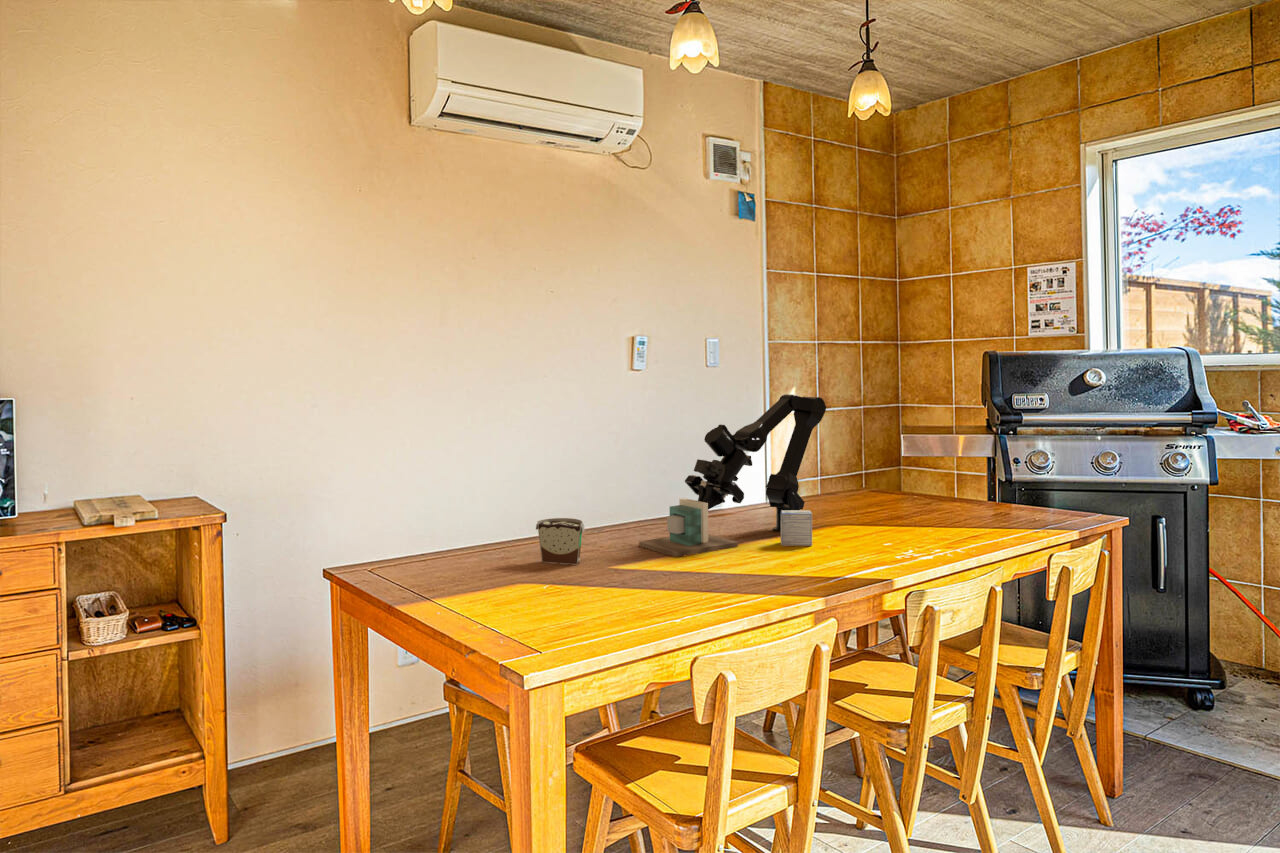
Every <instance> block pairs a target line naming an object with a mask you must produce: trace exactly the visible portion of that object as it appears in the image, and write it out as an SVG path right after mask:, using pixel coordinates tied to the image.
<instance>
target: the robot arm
mask: <svg viewBox="0 0 1280 853" xmlns="http://www.w3.org/2000/svg"><path fill="white" fill-rule="evenodd" d="M826 410H827V405H826V403H825V400H824V399H823V398H822V397H819V396H800V395H797V394H789V393H788V394H787V393H786V394H783V395H781V396H780V397H779V399H778V400H777V401H776V402H775V403H774V404H772V406H771V407H769V409H767V411H765V412H764V413H763V414H762V415H761V416H760V417H759V418H758V419H757V420H756V421H754V422H752V423H749V424H747V425H744V426H743V427H741V428H739V429H738V430H737V431H736V432H735V433H734V434H732V432H730V431H729V429H728V428H727V426H726V425H725V424H718V425H717V427H714V428H712V429H711V430H710V431H708V432H707V433H706V434H705V436H704V442H705V443H706V445H708V447H709V448H710V449H711V450H712V452H714V454H715V456H717V457H722V458H721V460H717V459H713V460H712V461H709V460H707V459H697V460H696V462H695V466H694V469H693V472H696V473H699V474H701V475H703V476H702V477H701V476H699V475H693V474H691V475H688V476H687V477H686V478H685V479H684V483H685V484H686V485H687V487H688V488H690V490H692V492H694V494H695V495H696V496H698V498H697V501H700V502H705V503H708V511H709V510H710V509H713V508H714V507H716V506H718V505H720V504H723V503H726V499H725V498H726V497H728V496H729V495H730V496H732V498H731V499H732V502H733V503H734V504H735V503H736V504H741V503H742V502H743V500H744V498H745V492H744V491H743V490H742V489H741V488H740V487H739V485H738V484H737V481H738V480H739V477H738V476H737V475H738V474H739V473H740V472H741V470H742V468H743V467H744V466H748V467H753V460H752V456H751V455H747V453H745V452H752V453H757V452H759V451H760V450H761V449H762V447H763V446H764V445H765V443H766V442H767V440H768V435H769V434H770V433H771V432H772V430H774V429H775V428H776V427H777V426H778V425H779V424H780V423H781V422H782V421H784V419H786V418H787V416H789V415H790V414H791V413H792V412H793V418H794V422H795V424H794V428H793V431H792V433H791V437H790V439H789V443H788V446H787V447H786V448H787V449H786V451H785V455H784V457H783V460H782V463H781V466H780V469H779V471H778V472H777V473H771V474H770V475H769V476H768V477H769V478H768V482H767V484H766V485H765V488H766V490H765V491H766V492H765V495H766V498H767V500H768V503H769V506H770V507H771V508H776V510H775V512H776V514H775V515H776V516H775V518H776V522H775V523H776V524H775V525H776V526H774V527H773V528H772V529H771V530H772V531H776V532H781V510H803V509H804V507H805V501H804V499H803V498H802V496H800V494H799V488H800V487H799V481H798V474H799V471H800V467H801V464H802V461H803V458H804V455H805V452H806V450H807V447H808V445H809V444H808V443H809V440H810V437H811V435H812V432H813V430H814V429H815V428H816V426H818V425H819V423H821V421H822V419H823V418H824V415H825V413H826V412H827V411H826Z"/></svg>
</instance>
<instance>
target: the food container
mask: <svg viewBox="0 0 1280 853" xmlns="http://www.w3.org/2000/svg"><path fill="white" fill-rule="evenodd" d="M535 530H537V531H538V540H539V548H540V549H539V550H540V555H541V556H540V558H541V563H542V562H549V563H548V564H555V563H560V565H568V564H572V565H573V566H578V564H579V565H580V561H581V548H582V537H583V533H584V532H585V531H586V528H585V525H584V522H583V521H582V519H577V518H568V517H555V518H545V519H540V520H537V523H536V525H535ZM572 565H571V566H572Z"/></svg>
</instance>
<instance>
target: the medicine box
mask: <svg viewBox="0 0 1280 853" xmlns="http://www.w3.org/2000/svg"><path fill="white" fill-rule="evenodd" d="M780 544H781V546H782V547H783V546H785V547H786V546H787V547H789V546H791V547H792V546H794V547H797V546H798V547H799V546H800V547H803V546H805V547H806V546H807V547H811V546H813V513H812V511H811V510H807V509H806V510H805V509H804V510H803V509H801V510H781V531H780Z"/></svg>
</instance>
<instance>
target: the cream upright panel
mask: <svg viewBox="0 0 1280 853" xmlns="http://www.w3.org/2000/svg"><path fill="white" fill-rule="evenodd" d="M678 505H685V506H689V507H694V508H698V509H701V542H703V543H704V542H708V534H709V510H708V503H705V502H700V501H698V500H694V499H689V498H685V497H684V498H683V497H682V498H679V503H678ZM666 529H667V530H666V531H667V533H670V532H671V533H674V534H680V533H685V516H682V515H672V516H670V515H668V516H666Z"/></svg>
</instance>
